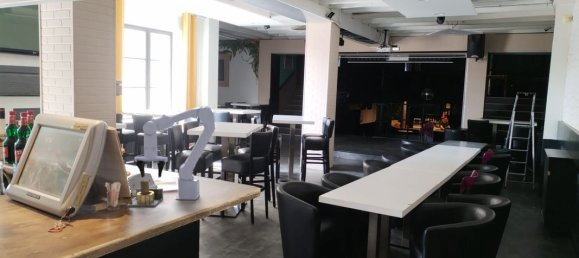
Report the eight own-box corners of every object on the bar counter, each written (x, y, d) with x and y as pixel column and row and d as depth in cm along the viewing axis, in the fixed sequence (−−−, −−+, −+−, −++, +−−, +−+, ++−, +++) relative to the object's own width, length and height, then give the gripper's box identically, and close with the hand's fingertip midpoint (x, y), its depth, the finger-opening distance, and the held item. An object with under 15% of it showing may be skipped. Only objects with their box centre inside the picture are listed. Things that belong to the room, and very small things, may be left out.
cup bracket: (163, 199, 196) (162, 188, 195) (155, 207, 184) (154, 196, 183) (137, 198, 196) (136, 188, 195) (127, 206, 184) (126, 195, 183)
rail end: (150, 199, 191) (149, 180, 190) (148, 201, 188) (147, 182, 187) (142, 199, 191) (141, 180, 190) (140, 202, 187) (139, 182, 186)
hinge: (133, 196, 199) (127, 176, 199) (126, 198, 201) (120, 178, 201) (158, 188, 214) (152, 169, 214) (151, 190, 216) (146, 171, 216)
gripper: (131, 148, 189) (132, 178, 190) (164, 149, 189) (164, 179, 190) (137, 146, 196) (137, 175, 197) (168, 146, 196) (169, 175, 197)
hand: (151, 176), depth 194 cm, fingers open, 7 cm apart
